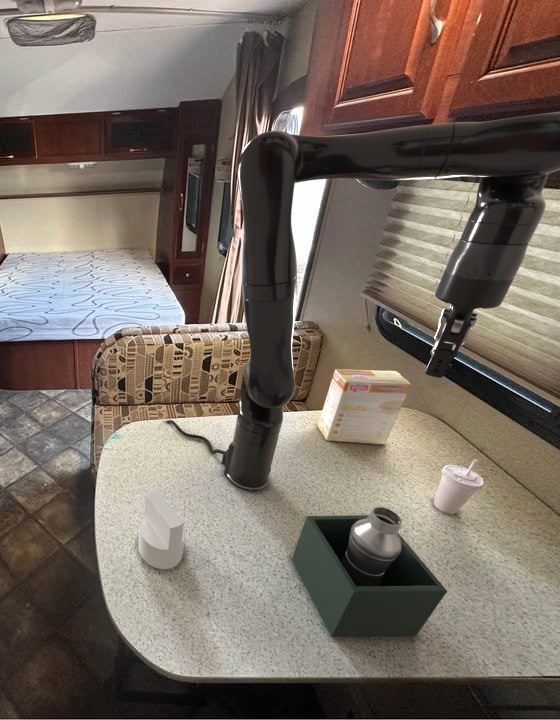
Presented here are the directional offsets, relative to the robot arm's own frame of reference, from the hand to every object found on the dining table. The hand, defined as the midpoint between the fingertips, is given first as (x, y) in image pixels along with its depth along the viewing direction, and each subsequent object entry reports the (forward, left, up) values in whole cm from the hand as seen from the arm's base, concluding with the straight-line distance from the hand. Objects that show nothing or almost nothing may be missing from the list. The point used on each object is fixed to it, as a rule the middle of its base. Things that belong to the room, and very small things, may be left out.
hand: (435, 366), depth 63 cm
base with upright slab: (-29, -36, -38) cm, 60 cm away
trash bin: (+1, -21, -38) cm, 43 cm away
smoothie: (+12, +15, -38) cm, 43 cm away
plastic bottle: (+1, -21, -38) cm, 43 cm away
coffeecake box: (-9, +30, -38) cm, 49 cm away
